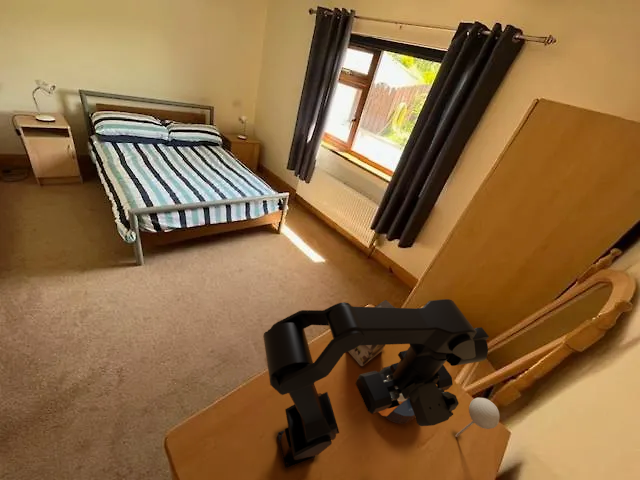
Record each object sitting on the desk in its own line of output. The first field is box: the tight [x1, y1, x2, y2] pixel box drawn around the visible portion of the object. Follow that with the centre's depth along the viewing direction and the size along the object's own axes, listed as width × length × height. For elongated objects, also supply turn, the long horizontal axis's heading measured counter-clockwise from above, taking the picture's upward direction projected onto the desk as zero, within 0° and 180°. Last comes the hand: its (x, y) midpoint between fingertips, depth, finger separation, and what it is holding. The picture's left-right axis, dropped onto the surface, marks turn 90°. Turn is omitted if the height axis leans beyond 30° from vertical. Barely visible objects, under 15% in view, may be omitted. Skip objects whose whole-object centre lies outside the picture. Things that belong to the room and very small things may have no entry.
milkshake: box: [378, 393, 410, 417], centre depth 61 cm, size 4×5×10 cm
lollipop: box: [454, 397, 501, 438], centre depth 69 cm, size 6×6×15 cm
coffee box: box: [347, 299, 396, 367], centre depth 81 cm, size 9×6×16 cm
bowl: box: [378, 365, 415, 425], centre depth 76 cm, size 12×12×4 cm
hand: (389, 403), depth 62 cm, fingers closed on milkshake, 4 cm apart
